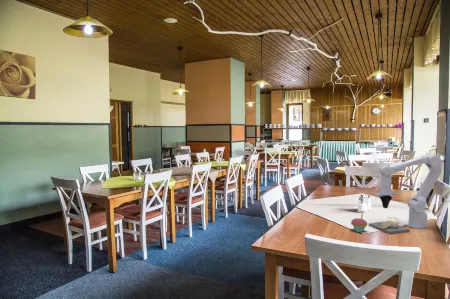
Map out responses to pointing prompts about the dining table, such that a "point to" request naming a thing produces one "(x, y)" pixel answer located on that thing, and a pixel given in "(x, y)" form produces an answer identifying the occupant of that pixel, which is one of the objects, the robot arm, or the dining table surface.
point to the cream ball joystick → (390, 222)
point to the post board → (389, 228)
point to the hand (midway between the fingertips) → (385, 207)
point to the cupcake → (359, 224)
